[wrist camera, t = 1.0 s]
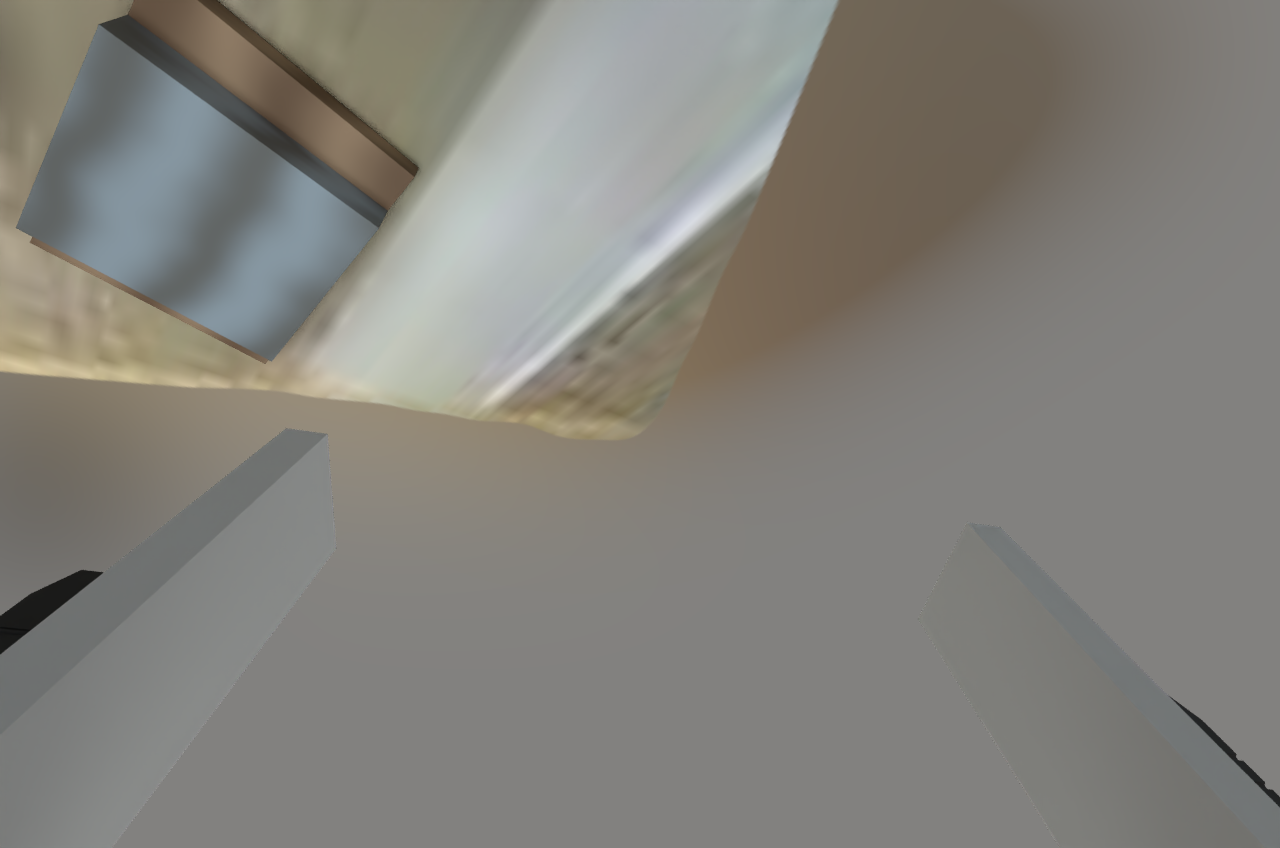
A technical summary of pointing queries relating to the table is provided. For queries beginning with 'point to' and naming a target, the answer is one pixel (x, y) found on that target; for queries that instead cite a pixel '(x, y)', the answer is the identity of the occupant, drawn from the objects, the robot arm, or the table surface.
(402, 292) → the table surface
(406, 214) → the table surface
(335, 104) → the build plate
